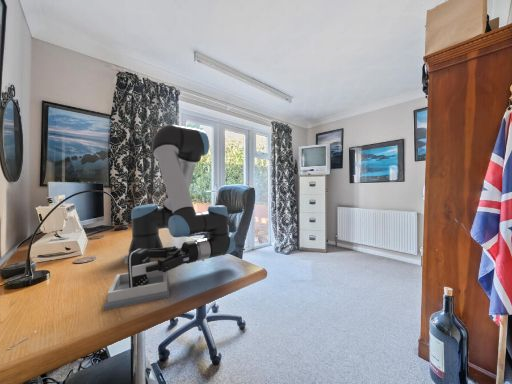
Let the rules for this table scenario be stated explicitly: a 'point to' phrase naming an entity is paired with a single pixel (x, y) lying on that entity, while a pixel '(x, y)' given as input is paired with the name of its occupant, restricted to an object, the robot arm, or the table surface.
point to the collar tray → (137, 290)
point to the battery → (133, 260)
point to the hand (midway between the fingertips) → (128, 265)
